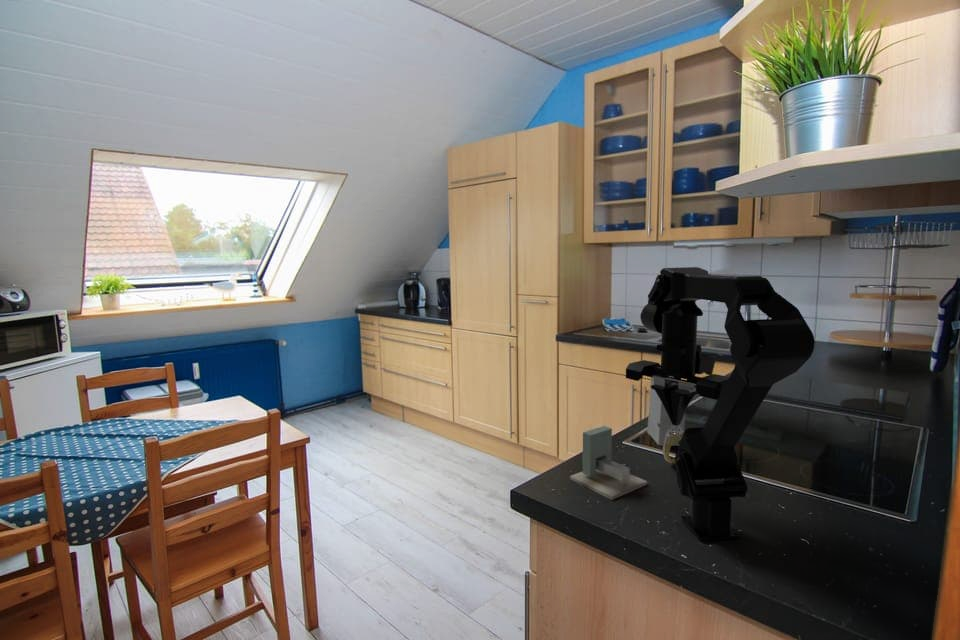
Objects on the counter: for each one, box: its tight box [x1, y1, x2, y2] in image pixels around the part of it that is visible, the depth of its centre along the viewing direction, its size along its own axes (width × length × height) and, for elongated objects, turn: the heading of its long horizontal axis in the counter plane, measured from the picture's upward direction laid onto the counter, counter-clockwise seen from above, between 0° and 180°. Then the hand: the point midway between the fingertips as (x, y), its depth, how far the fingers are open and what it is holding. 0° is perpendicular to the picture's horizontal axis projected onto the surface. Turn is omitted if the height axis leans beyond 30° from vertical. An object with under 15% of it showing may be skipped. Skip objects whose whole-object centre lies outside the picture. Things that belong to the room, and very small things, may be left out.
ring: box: [662, 426, 685, 465], centre depth 103 cm, size 7×3×8 cm, turn 119°
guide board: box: [569, 470, 648, 501], centre depth 96 cm, size 10×10×1 cm
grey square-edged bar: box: [581, 453, 630, 487], centre depth 96 cm, size 10×2×4 cm, turn 34°
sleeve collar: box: [582, 425, 613, 477], centre depth 98 cm, size 3×6×8 cm, turn 124°
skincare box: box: [647, 376, 686, 447], centre depth 115 cm, size 8×6×15 cm
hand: (676, 424), depth 89 cm, fingers closed
